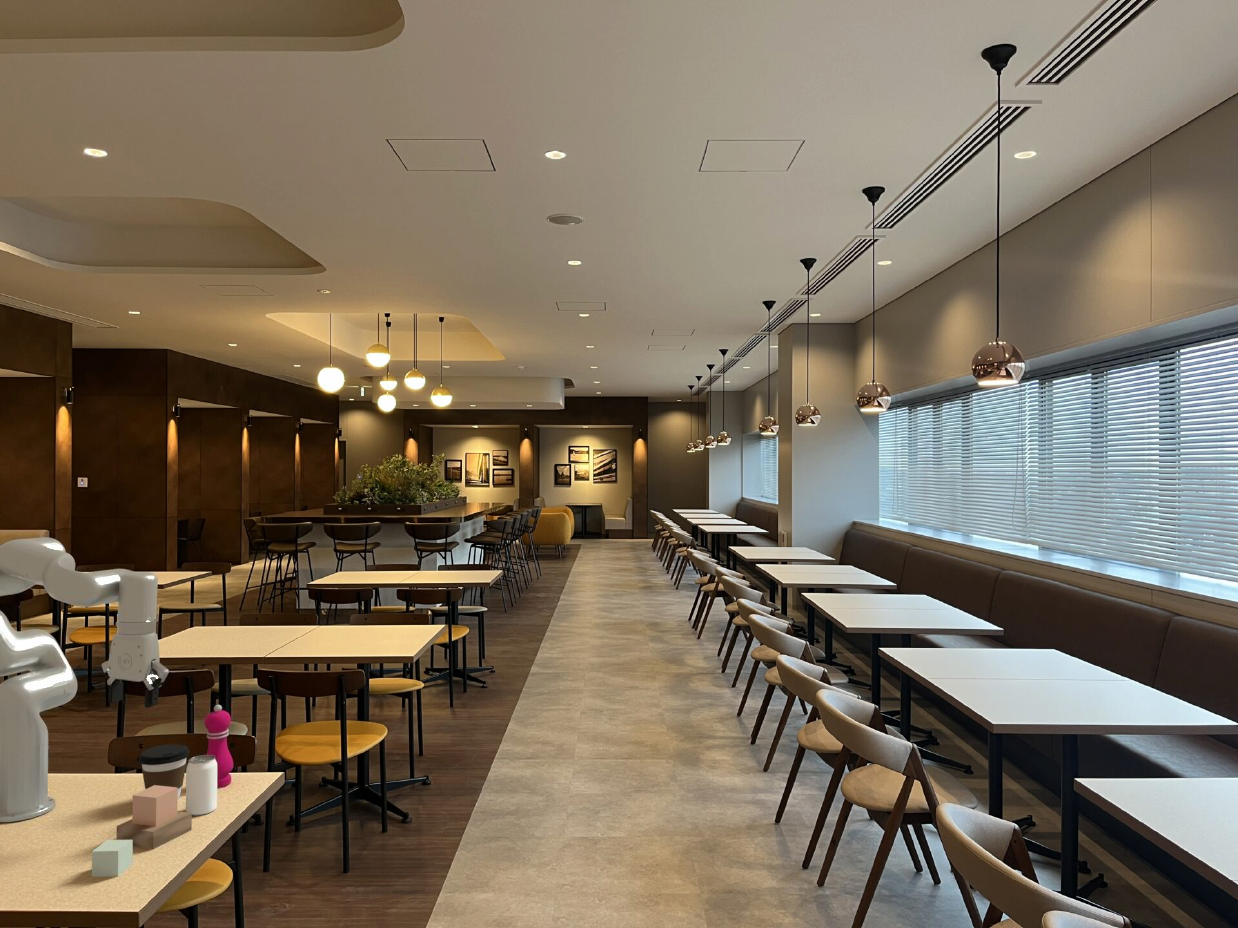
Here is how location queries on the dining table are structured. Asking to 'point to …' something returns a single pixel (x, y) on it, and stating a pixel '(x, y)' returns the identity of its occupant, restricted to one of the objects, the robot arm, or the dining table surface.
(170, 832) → the walnut block
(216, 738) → the pepper mill
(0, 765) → the robot arm
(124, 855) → the sage cube
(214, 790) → the can
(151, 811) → the clay cube
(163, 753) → the coffee cup
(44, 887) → the dining table surface
